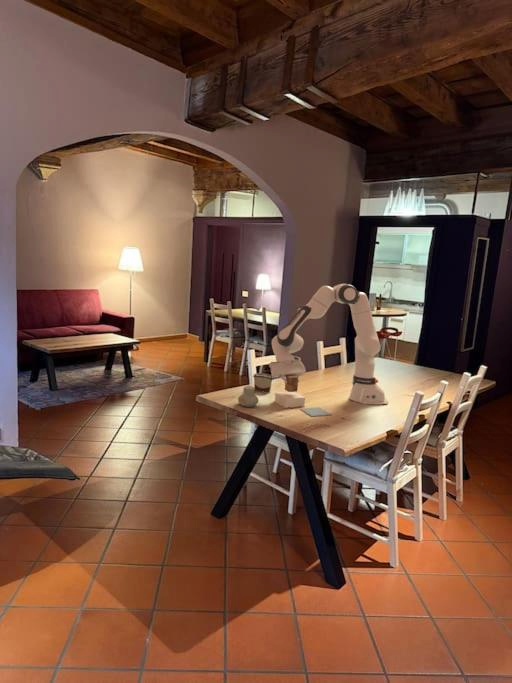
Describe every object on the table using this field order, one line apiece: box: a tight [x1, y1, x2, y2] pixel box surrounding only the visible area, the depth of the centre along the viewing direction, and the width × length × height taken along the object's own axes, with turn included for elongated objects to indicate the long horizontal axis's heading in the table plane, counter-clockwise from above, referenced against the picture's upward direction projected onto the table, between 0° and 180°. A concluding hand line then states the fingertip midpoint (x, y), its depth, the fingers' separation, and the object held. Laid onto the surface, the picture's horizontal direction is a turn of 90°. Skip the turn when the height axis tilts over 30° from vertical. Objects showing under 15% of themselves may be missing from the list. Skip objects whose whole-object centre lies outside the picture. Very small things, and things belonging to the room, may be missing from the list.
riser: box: [274, 391, 306, 409], centre depth 256 cm, size 12×12×5 cm
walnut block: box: [284, 375, 299, 393], centre depth 255 cm, size 5×5×8 cm
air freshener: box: [237, 385, 259, 408], centre depth 248 cm, size 11×8×10 cm
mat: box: [299, 406, 332, 418], centre depth 245 cm, size 12×12×1 cm
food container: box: [252, 372, 274, 394], centre depth 279 cm, size 12×6×10 cm, turn 71°
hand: (292, 382), depth 254 cm, fingers closed on walnut block, 5 cm apart
